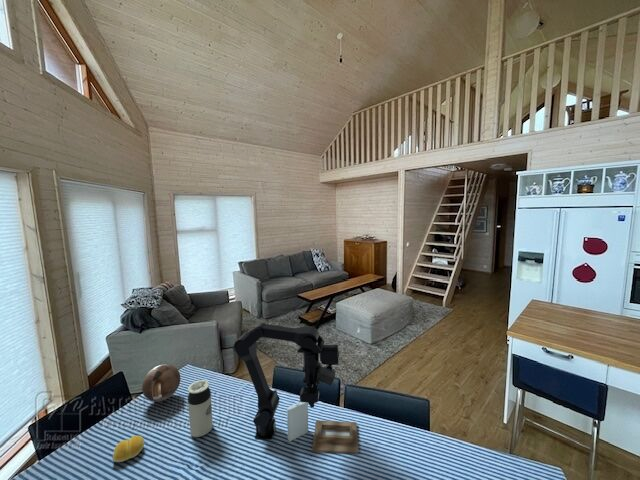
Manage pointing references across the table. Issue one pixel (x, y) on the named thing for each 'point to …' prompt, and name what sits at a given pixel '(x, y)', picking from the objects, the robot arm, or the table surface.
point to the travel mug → (200, 408)
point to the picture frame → (335, 437)
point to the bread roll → (128, 448)
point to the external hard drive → (297, 420)
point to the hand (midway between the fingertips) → (313, 402)
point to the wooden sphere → (161, 382)
